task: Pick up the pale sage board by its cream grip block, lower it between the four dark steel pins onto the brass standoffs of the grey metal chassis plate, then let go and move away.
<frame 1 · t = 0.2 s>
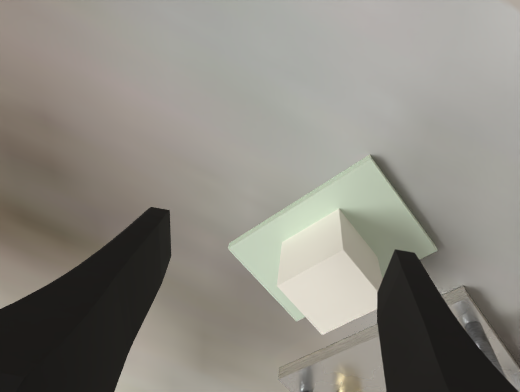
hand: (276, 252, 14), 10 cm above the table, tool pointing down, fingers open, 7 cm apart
sage board: (328, 240, 26), on the table
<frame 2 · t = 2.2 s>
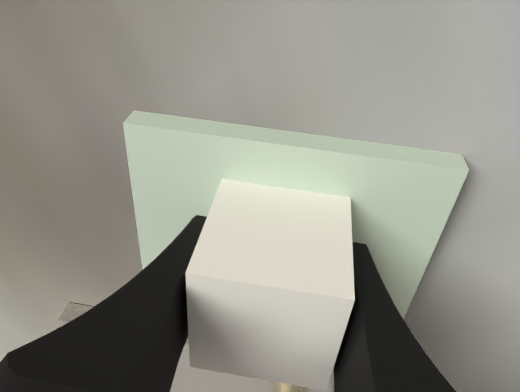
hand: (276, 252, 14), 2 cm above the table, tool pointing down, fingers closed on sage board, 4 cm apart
sage board: (282, 217, 15), on the table, touching gripper
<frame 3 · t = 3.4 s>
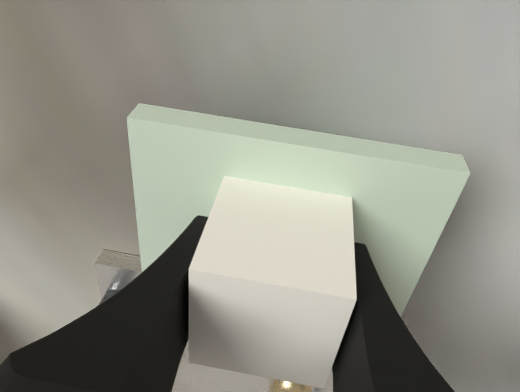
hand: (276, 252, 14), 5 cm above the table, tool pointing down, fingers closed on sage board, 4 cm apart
sage board: (282, 215, 15), point 3 cm above the table, touching gripper
chassis plate: (226, 350, 26), on the table
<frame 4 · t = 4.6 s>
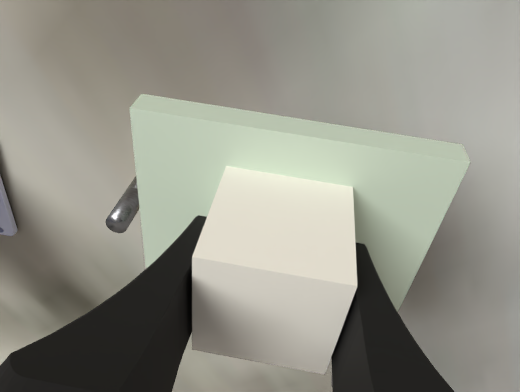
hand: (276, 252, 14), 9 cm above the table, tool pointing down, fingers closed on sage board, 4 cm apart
sage board: (283, 205, 15), point 7 cm above the table, touching gripper
chassis plate: (257, 242, 26), on the table
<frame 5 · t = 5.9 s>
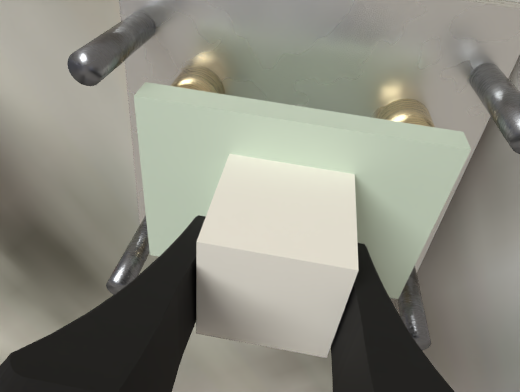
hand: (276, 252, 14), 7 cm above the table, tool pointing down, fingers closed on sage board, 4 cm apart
sage board: (286, 193, 16), point 4 cm above the table, touching gripper
chassis plate: (292, 149, 19), on the table
when the fingers open (6 cm above the table, at t = 6.5 s): sage board stays where it is, resting on chassis plate.
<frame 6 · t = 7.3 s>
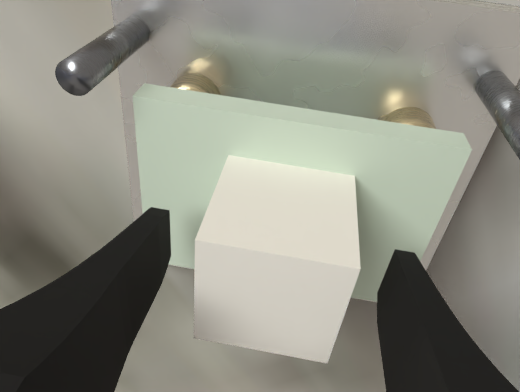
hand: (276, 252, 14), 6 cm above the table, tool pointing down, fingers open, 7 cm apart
sage board: (285, 196, 15), point 3 cm above the table, touching chassis plate
chassis plate: (292, 157, 18), on the table
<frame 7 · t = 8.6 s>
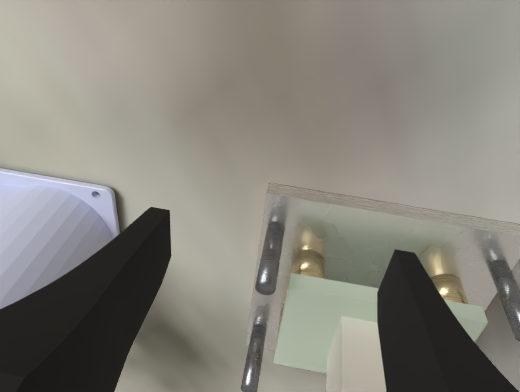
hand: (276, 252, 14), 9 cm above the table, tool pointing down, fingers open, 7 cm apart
sage board: (368, 330, 24), point 3 cm above the table, touching chassis plate
chassis plate: (363, 288, 28), on the table
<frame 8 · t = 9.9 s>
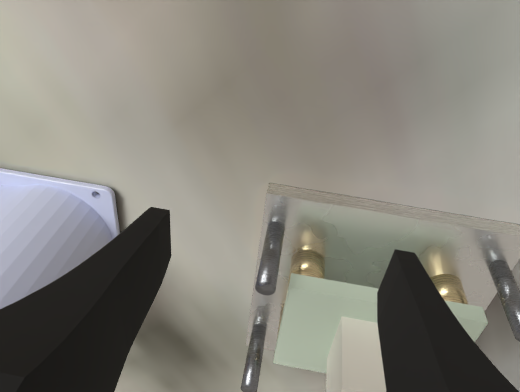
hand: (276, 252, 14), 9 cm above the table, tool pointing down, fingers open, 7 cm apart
sage board: (368, 330, 24), point 3 cm above the table, touching chassis plate
chassis plate: (363, 288, 28), on the table
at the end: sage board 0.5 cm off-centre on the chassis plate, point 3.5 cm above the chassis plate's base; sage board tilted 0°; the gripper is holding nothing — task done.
